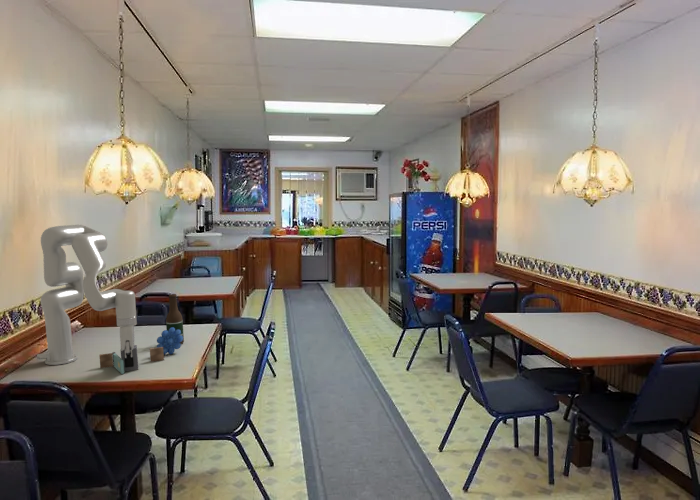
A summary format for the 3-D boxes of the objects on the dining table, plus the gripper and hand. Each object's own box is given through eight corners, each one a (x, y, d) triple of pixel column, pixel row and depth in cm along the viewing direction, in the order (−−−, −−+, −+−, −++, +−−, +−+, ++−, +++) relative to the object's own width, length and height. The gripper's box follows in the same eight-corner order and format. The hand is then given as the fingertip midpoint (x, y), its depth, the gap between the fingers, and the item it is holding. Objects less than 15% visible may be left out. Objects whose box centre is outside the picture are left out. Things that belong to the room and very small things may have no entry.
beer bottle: (179, 346, 254) (175, 295, 252) (164, 345, 256) (160, 295, 253) (187, 341, 262) (184, 292, 259) (172, 341, 263) (169, 292, 261)
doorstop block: (122, 371, 219) (120, 350, 218) (122, 368, 224) (121, 346, 223) (138, 369, 221) (136, 348, 220) (138, 365, 226) (136, 344, 225)
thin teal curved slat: (113, 366, 226) (112, 353, 226) (116, 365, 227) (115, 353, 226) (121, 374, 216) (120, 361, 215) (124, 373, 216) (123, 360, 216)
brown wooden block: (100, 368, 225) (99, 354, 224) (100, 367, 226) (99, 353, 225) (164, 360, 233) (163, 346, 233) (163, 359, 234) (163, 346, 234)
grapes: (182, 349, 248) (181, 324, 247) (185, 353, 242) (183, 327, 241) (155, 353, 243) (154, 327, 242) (157, 357, 237) (155, 330, 236)
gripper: (117, 317, 227) (120, 360, 229) (115, 327, 211) (118, 372, 213) (137, 316, 229) (139, 357, 231) (136, 325, 214) (139, 369, 216)
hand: (129, 364), depth 222 cm, fingers closed on doorstop block, 5 cm apart
